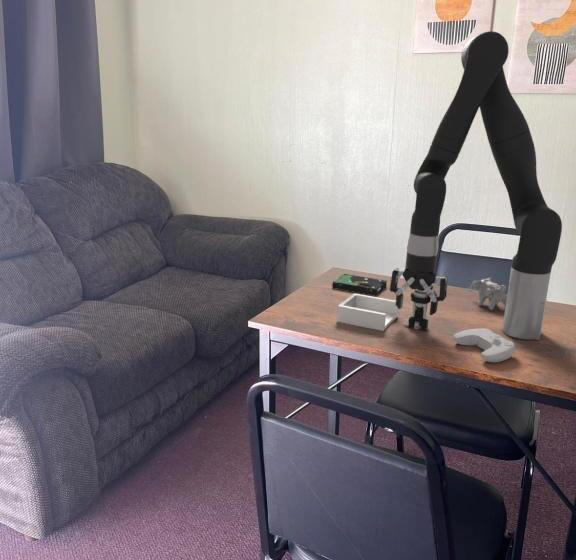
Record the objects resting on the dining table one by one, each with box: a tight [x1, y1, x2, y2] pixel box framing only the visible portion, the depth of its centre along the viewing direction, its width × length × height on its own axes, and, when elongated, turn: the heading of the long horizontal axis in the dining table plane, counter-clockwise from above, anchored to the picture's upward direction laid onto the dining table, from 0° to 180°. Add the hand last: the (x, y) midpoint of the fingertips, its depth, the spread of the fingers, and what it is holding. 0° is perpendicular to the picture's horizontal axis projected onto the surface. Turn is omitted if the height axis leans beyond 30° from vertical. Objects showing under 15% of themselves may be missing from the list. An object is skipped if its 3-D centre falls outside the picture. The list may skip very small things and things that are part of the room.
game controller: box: [452, 328, 516, 364], centre depth 134 cm, size 14×4×10 cm
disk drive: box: [331, 273, 388, 297], centre depth 179 cm, size 10×3×15 cm
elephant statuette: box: [469, 277, 508, 311], centre depth 165 cm, size 9×12×8 cm
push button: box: [403, 289, 432, 332], centre depth 146 cm, size 7×5×10 cm
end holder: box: [336, 292, 399, 332], centre depth 152 cm, size 13×12×4 cm
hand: (415, 311), depth 147 cm, fingers open, 8 cm apart
